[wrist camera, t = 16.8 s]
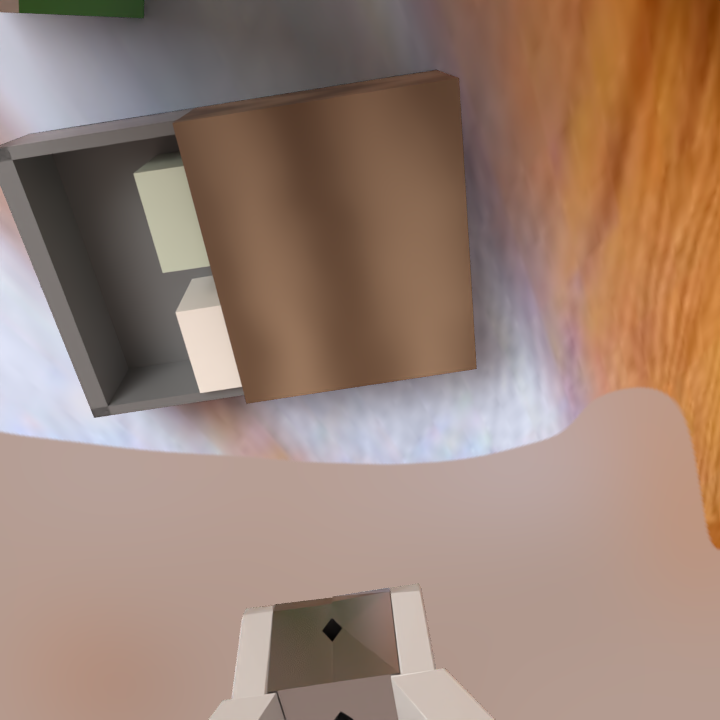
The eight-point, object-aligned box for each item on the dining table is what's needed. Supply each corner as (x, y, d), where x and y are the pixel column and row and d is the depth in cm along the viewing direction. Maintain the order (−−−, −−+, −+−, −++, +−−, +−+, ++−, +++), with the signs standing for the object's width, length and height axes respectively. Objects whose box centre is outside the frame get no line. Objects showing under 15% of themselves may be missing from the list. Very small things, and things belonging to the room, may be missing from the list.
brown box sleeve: (436, 69, 34) (458, 78, 28) (455, 324, 41) (476, 368, 35) (195, 107, 34) (172, 122, 28) (255, 354, 41) (246, 403, 36)
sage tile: (185, 165, 30) (133, 173, 30) (211, 265, 32) (162, 273, 32) (202, 147, 34) (157, 154, 34) (224, 236, 37) (181, 243, 37)
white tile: (222, 305, 33) (175, 312, 33) (243, 386, 36) (200, 393, 36) (233, 272, 38) (192, 278, 38) (252, 346, 40) (213, 352, 40)
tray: (195, 107, 34) (176, 120, 29) (255, 354, 41) (248, 394, 36) (29, 134, 34) (-14, 150, 30) (118, 375, 41) (94, 417, 37)
